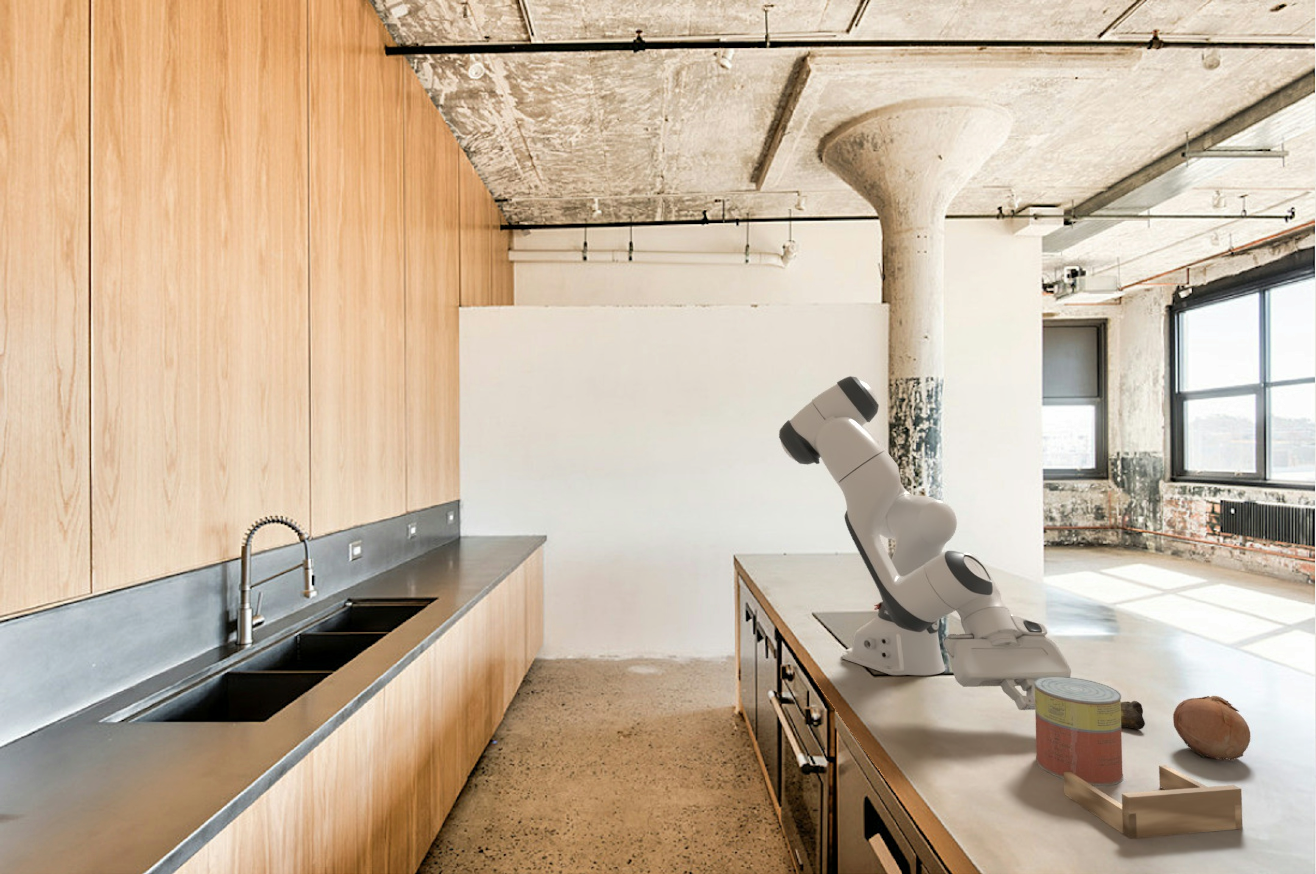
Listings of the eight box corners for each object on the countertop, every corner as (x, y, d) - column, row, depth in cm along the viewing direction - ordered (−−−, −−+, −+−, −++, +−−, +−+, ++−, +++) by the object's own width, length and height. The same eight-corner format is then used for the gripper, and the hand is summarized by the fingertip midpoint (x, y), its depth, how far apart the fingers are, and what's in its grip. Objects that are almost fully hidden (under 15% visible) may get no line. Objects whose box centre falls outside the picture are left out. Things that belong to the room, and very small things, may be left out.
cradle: (1064, 794, 93) (1063, 758, 93) (1165, 786, 95) (1164, 751, 95) (1129, 838, 82) (1128, 797, 82) (1242, 828, 84) (1241, 788, 84)
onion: (1220, 767, 107) (1235, 708, 109) (1256, 778, 98) (1272, 713, 100) (1154, 739, 110) (1170, 681, 112) (1184, 746, 102) (1200, 683, 103)
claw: (1169, 730, 115) (1168, 710, 115) (1121, 736, 113) (1120, 716, 113) (1075, 694, 134) (1074, 677, 135) (1032, 699, 132) (1031, 681, 132)
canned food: (1096, 753, 106) (1094, 677, 106) (1140, 787, 95) (1138, 703, 95) (1023, 750, 107) (1021, 675, 108) (1057, 784, 96) (1055, 700, 96)
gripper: (946, 625, 117) (980, 700, 107) (1052, 624, 120) (1094, 698, 110) (933, 643, 121) (963, 718, 111) (1035, 642, 124) (1074, 715, 114)
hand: (1029, 708), depth 110 cm, fingers closed
